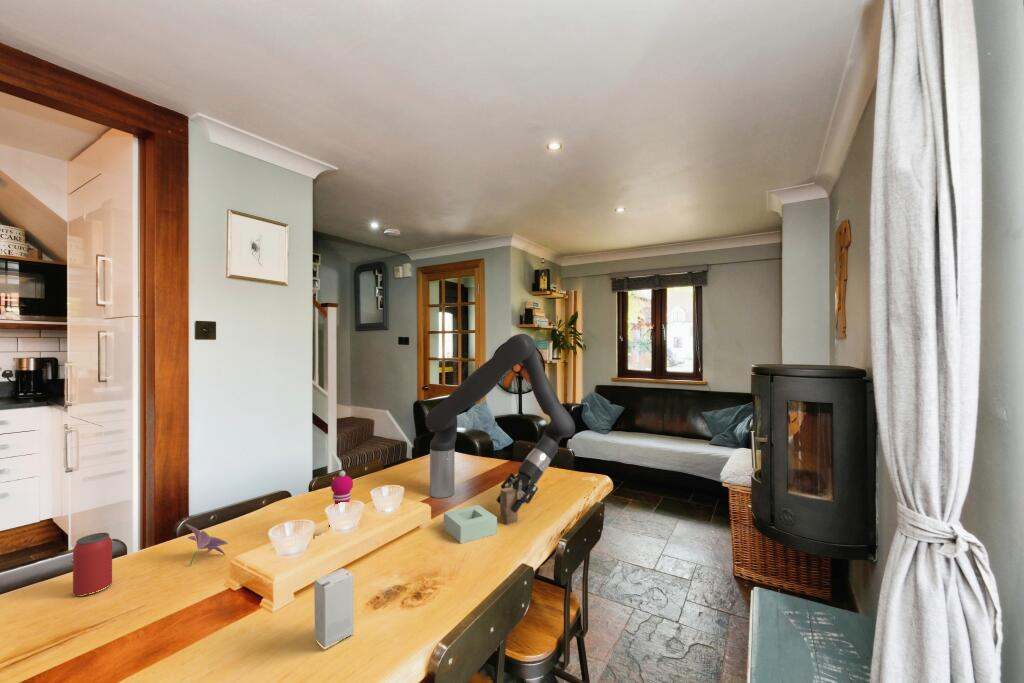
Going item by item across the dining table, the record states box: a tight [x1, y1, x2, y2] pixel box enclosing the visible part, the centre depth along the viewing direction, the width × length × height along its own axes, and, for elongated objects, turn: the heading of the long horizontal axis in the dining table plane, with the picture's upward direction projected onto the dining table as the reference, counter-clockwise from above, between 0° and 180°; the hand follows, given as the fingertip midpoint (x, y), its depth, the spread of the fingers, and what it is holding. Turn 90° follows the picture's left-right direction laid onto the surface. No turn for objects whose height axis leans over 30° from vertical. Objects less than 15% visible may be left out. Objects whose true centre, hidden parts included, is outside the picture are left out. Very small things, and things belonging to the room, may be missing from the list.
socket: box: [443, 504, 498, 544], centre depth 131 cm, size 12×12×5 cm
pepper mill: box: [328, 470, 354, 528], centre depth 126 cm, size 7×7×20 cm
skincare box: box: [313, 568, 355, 647], centre depth 83 cm, size 6×4×12 cm
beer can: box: [72, 532, 113, 596], centre depth 100 cm, size 7×7×12 cm
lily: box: [184, 523, 229, 566], centre depth 114 cm, size 12×12×10 cm
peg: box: [499, 487, 519, 525], centre depth 139 cm, size 4×4×10 cm
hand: (505, 506), depth 138 cm, fingers open, 8 cm apart
